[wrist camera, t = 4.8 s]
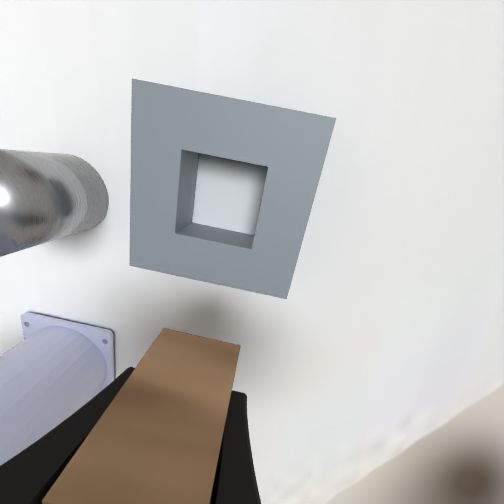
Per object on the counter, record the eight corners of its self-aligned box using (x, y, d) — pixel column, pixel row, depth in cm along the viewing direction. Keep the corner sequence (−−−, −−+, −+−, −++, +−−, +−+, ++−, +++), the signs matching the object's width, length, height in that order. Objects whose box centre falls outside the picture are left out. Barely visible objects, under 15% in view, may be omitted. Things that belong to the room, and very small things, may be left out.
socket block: (284, 278, 17) (286, 299, 15) (152, 250, 18) (129, 265, 15) (323, 128, 14) (336, 118, 11) (160, 96, 14) (132, 78, 11)
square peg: (227, 401, 12) (185, 608, 6) (158, 385, 12) (55, 576, 6) (240, 345, 11) (202, 541, 5) (163, 328, 11) (41, 501, 5)
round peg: (109, 235, 18) (31, 266, 12) (42, 221, 18) (-67, 245, 12) (107, 162, 16) (15, 158, 10) (33, 147, 16) (-98, 134, 10)
